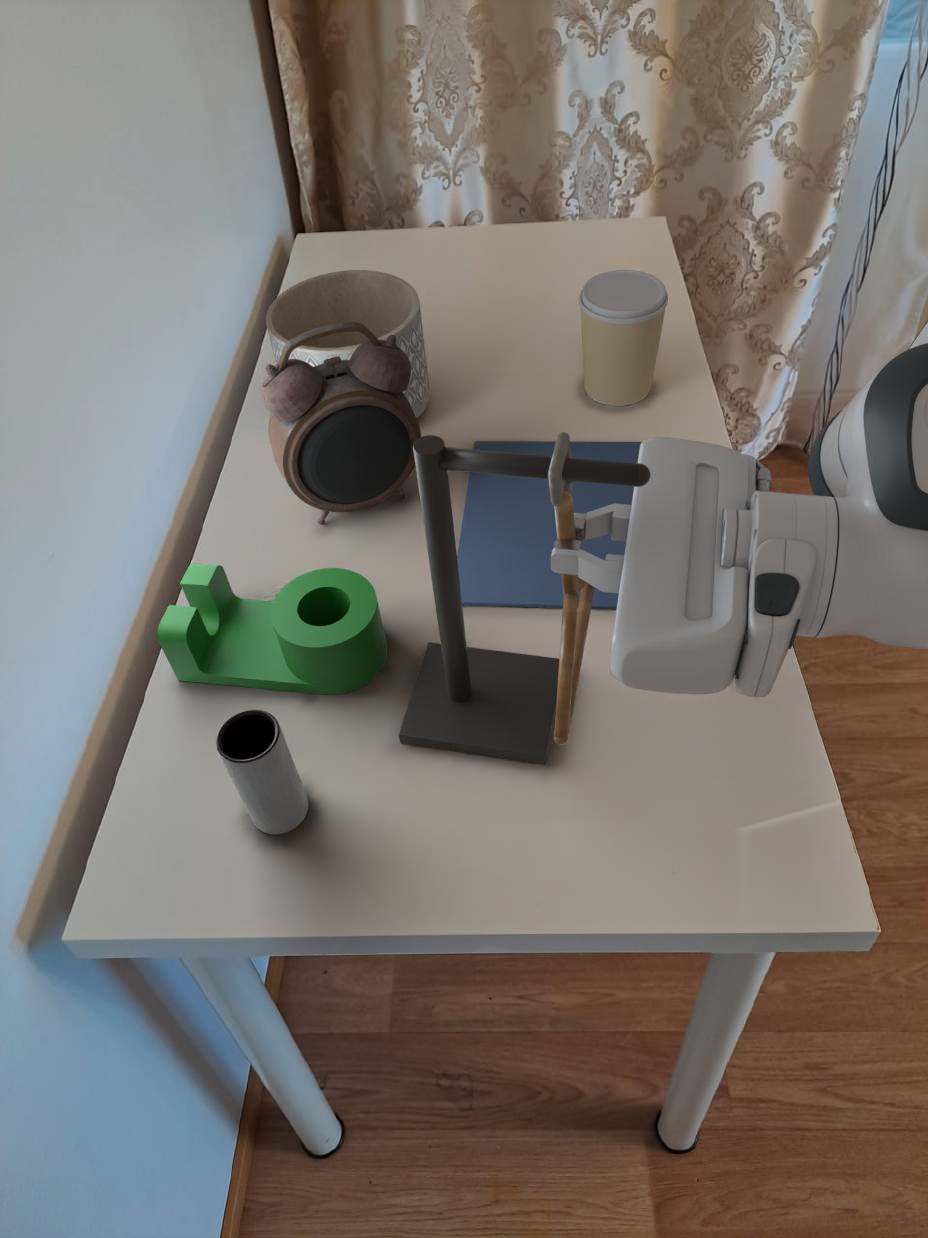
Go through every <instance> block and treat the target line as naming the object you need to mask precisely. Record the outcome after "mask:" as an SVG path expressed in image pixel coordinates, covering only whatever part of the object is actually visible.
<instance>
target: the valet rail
mask: <svg viewBox="0 0 928 1238" xmlns="http://www.w3.org/2000/svg"><path fill="white" fill-rule="evenodd" d="M413 451H414V458H415V465H416V466H415V472H416V478H417V479H416V480H417V486H418V492H419V501H420V506H421V507H420V509H421V514H422V522H423V528H424V535H425V542H426V549H427V557H428V563H429V572H430V578H431V585H432V586H431V587H432V593H433V599H434V606H435V613H436V614H435V615H436V620H437V627H438V634H439V642H431V641H428V642H427V644H426V648H425V650H424V654H423V657H422V660H421V663H420V666H419V670H418V672H417V675H416V679H415V682H414V685H413V687H412V691H411V694H410V697H409V700H408V704H407V707H406V710H405V713H404V716H403V720H402V722H401V726H400V729H399V732H398V739H399V743H400V744H405V745H410V746H411V745H412V746H419V747H425V748H432V749H439V750H445V751H450V752H457V753H464V754H471V755H478V756H483V757H485V756H486V757H492V758H497V759H505V760H511V761H517V762H525V763H530V764H531V763H532V764H538V765H545V764H546V761H547V755H548V751H549V745H550V740H551V735H552V729H553V725H554V720H555V714H556V700H557V686H558V671H559V658H557V657H550V656H542V655H541V656H540V655H533V654H526V653H518V652H510V651H503V650H495V649H486V648H479V647H471V646H468V645H467V644H468V643H467V637H466V627H465V618H464V617H465V616H464V609H463V605H462V598H461V589H460V580H459V570H458V561H457V553H458V551H457V544H456V535H455V534H456V533H455V525H454V517H453V508H452V507H453V506H452V498H451V488H450V479H449V471H455V472H463V473H464V472H465V473H470V472H475V473H486V474H497V475H509V476H520V477H532V478H543V479H548V471H549V467H550V463H551V459H552V456H545V455H533V454H521V453H509V452H497V451H484V450H473V448H472V449H471V448H458V447H447V446H446V443H445V440H444V439H443V438H442V437H440V436H438V435H433V434H427V435H423V436H421V437H420V438H418V439H417V440H416V441H415V442H414V444H413ZM649 479H650V470H649V468H648V467H647V466H646V465H644V464H640V463H629V462H617V461H605V460H593V459H581V458H569V457H566V458H565V462H564V466H563V471H562V480H566V481H577V482H589V483H600V484H611V485H623V486H634V487H641V486H644V485H645V484H647V483H648V481H649Z"/></svg>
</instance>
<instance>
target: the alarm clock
mask: <svg viewBox="0 0 928 1238" xmlns="http://www.w3.org/2000/svg"><path fill="white" fill-rule="evenodd" d="M341 332H361V333H363V334H364V335H365V336H366V337H367V338H368V339H369V340H368V341H365V342H363V343H362V344H361V345H359V346H358V347H357V349H356V350H355V351H354V353H353V354H352V356H351V358H350V360H341V358H340V357H333V358H329V359H326V360H324V363H323V364H320V365H317V366H315V367H313V366H311V365H310V364H308V363H306V362H304V361H301V360H298V359H289V357H290V354H291V353H292V351H293V350H294V349H296V348H297V347H299V346H301V345H303V344H305V343H306V342H308V341H311V340H314V339H317V338H320V337H324V336H328V335H331V334H335V333H341ZM265 372H266V374H265V376H264V378H263V380H262V381H261V382H260V383H261V388H260V390H261V391H260V397H261V401H262V402H263V404H264V407H265V409H266V410H267V412H268V413H269V414H270V415H269V420H268V439H269V444H270V446H271V451H272V456H273V458H274V462H275V464H276V467H277V468H278V471H279V472H280V474H281V476H282V477H283V479H284V480H285V482H286V484H287V485H288V487H289V488H290V490H291V491H292V492H293V494H294V495H295V496H296V497H297V498H298V499H300V501H301V502H303V503H305V504H307V505H309V506H310V507H313V508H315V509H317V510H321V514H320V518H319V519H318V520H317V522H318V524H319V525H325V524H326V518H327V517H328V515H329V514H330V513H352V512H357V511H361V510H365V509H367V508H371V507H373V506H375V505H378V504H379V503H381V502H383V501H385V500H387V499H388V498H389V497H391V496H392V495H394V496H396V497H398V498H399V499H398V500H400V501H402V502H403V501H405V500H406V499H407V496H406V494H404V493H402V492H401V491H400V488H401V487H402V486H403V485H404V484H405V483H406V482H407V480H409V478H410V477H411V475H412V473H413V472H414V470H415V469H416V465H415V458H414V451H413V444H414V442H415V441H416V440H417V439H418V438H420V437H422V431H421V427H420V424H419V421H418V418H417V419H416V416H415V414H414V411H413V409H412V407H411V405H410V403H409V401H408V399H407V398H406V396H405V395H404V393H403V391H406V389H407V387H408V384H409V381H410V376H411V365H410V361H409V359H408V357H407V355H406V354H405V353H404V352H403V350H402V349H400V348H399V347H398V346H397V345H396V336H395V335H390V336H389V337H388V338H387V340H386V341H385V340H380V339H377V338H376V337H375V336H374V334H373V333H372V332H371V331H370V330H368V329H367V328H366V327H365V326H364V325H363V324H360V323H358V322H341V323H336V324H330V325H327V326H323V327H319V328H315V329H312V330H309V331H307V332H304V333H302V334H300V335H298V336H296V337H295V338H293V339H291V340H289V341H288V342H287V343H286V344H285V346H284V347H283V350H282V353H281V355H280V358H279V361H278V364H276V363H275V365H274V364H266V366H265Z"/></svg>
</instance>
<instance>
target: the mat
mask: <svg viewBox="0 0 928 1238" xmlns="http://www.w3.org/2000/svg"><path fill="white" fill-rule="evenodd" d="M642 442H643V441H574V440H573V441H571V440H570V447H571V458H581V459H593V460H605V461H617V462H629V463H638V457H639V450H640V445H641V443H642ZM555 443H556V440H551V441H550V440H549V441H548V440H546V441H545V440H544V441H543V440H542V441H541V440H540V441H539V440H537V441H536V440H474V441H473V447H472V450H484V451H497V452H509V453H521V454H533V455H545V456H552V455H553V451H554V447H555ZM633 492H634V486H623V485H611V484H600V483H589V482H577V481H573V488H572V493H571V496H572V498H573V509H574V513H583V514H587V512H590V511H593V510H596V509H599V508H602V507H605V506H608V505H611V504H626V505H632V499H633ZM465 494H466V495H465V501H464V508H463V514H462V520H461V526H460V535H459V539H458V540H459V541H458V546H457V561H458V570H459V580H460V589H461V598H462V606H475V607H476V606H477V607H478V606H480V607H509V608H511V607H512V608H516V607H517V608H545V609H546V608H547V609H550V608H553V609H563V599H564V593H563V587H562V577H561V573H555V572H553V571H552V570H551V554H552V549H553V545H554V541H556V540H557V529H556V519H555V509H554V505H553V504H552V503H551V498H550V488H549V479H543V478H532V477H520V476H509V475H497V474H486V473H475V472H468V480H467V487H466V493H465ZM625 547H626V542H624V541H614V540H611V534H609V535H605V536H600V537H596V538H591V539H587V540H584V544H583V548H581V550H584V551H586V552H588V553H590V554H592V555H594V556H596V557H598V558H600V559H603V560H605V559H606V555H607V554H613V555H624V554H625ZM580 595H581V591H580V592H579V594H578V605H579V600H580ZM618 596H619V594H618V593H608V592H601V591H600V590H598V589H597V588H595V589H594V595H593V600H592V606H591V610H593V609H594V610H617V603H618ZM577 609H578V606H577Z"/></svg>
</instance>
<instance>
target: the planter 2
mask: <svg viewBox="0 0 928 1238" xmlns="http://www.w3.org/2000/svg"><path fill="white" fill-rule="evenodd" d="M420 303H421V302H420V298H419V294H418V293H417V291H416V289H415V288H414V286H412V285H411V284H410V283H409V282H408V281H406V280H404V279H403V278H401V277H399V276H397V275H394V274H390V273H388V272H383V271H377V270H368V269H348V270H340V271H339V270H338V271H333V272H328V273H327V272H326V273H323V274H319V275H316V276H313V277H310V278H307V279H305V280H302V281H300V282H298V283H296V284H293V285H292V286H291V287H288V288H287V289H285V291H283V292H281V293H280V294H279V295H278V296H277V297H276V298H275V299H274V300H273V301H272V303H270V306H269V307H268V309H267V312H266V315H265V325H266V329H267V334H268V338H269V340H270V344H271V345H270V346H271V348H272V352H273V355H274V360H275V365H276V364H278V361H279V358H280V355H281V353H282V350H283V347H284V346H285V344H286V343H287V342H288V341H289V340H291V339H293V338H295V337H296V336H298V335H300V334H302V333H304V332H307V331H309V330H312V329H315V328H319V327H323V326H327V325H330V324H336V323H341V322H358V323H360V324H363V325H364V326H365V327H366V328H367V329H368V330H370V331H371V332H372V333H373V334H374V336H375V337H376V338H377V339H380V340H385V341H386V340H387V338H388V337H389V336H390V335H395V336H396V345H397V346H398V347H399V348H400V349H402V350H403V352H404V353H405V354H406V355H407V357H408V359H409V361H410V365H411V376H410V381H409V384H408V387H407V389H406V391H403V393H404V395H405V396H406V398H407V399H408V401H409V403H410V405H411V407H412V409H413V411H414V414H415V416H416V419H417V420H418V418H419V417H420V416H421V414H423V412H424V411H425V409H426V408H427V406H428V404H429V400H430V396H431V389H430V381H429V371H428V361H427V354H426V345H425V337H424V327H423V318H422V311H421V304H420ZM368 340H369V339H368V338H367V337H366V336H365V335H364V334H363V333H361V332H341V333H335V334H331V335H328V336H324V337H320V338H317V339H314V340H311V341H308V342H306V343H305V344H303V345H301V346H299V347H297V348H296V349H294V350H293V351H292V353H291V354H290V357H289V359H298V360H301V361H304V362H306V363H308V364H310V365H311V366H313V367H315V366H317V365H320V364H323V363H324V360H326V359H329V358H333V357H340V358H341V360H350V358H351V356H352V354H353V353H354V351H355V350H356V349H357V347H358V346H359V345H361V344H362V343H363V342H365V341H368Z"/></svg>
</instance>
